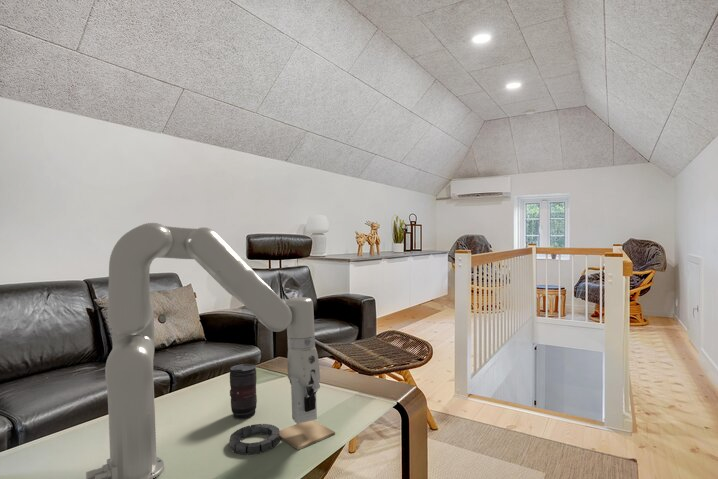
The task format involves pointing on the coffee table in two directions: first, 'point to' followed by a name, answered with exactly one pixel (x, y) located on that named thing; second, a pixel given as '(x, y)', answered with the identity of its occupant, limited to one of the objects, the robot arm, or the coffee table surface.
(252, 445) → the collar
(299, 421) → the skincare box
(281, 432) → the pad
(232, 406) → the camera lens
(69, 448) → the coffee table surface
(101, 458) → the coffee table surface
